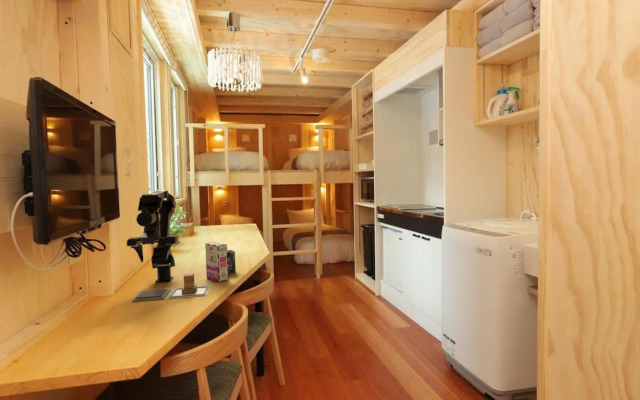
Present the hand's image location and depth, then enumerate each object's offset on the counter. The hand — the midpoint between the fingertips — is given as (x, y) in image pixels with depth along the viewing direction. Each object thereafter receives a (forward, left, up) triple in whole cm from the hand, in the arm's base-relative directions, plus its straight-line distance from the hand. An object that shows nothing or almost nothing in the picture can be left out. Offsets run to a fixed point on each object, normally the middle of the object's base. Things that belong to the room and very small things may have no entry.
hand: (154, 261), depth 151 cm
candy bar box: (-10, +24, -12) cm, 29 cm away
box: (-21, +27, -12) cm, 36 cm away
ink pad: (+9, +1, -12) cm, 15 cm away
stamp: (+8, +15, -12) cm, 21 cm away
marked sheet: (+8, +15, -12) cm, 21 cm away
